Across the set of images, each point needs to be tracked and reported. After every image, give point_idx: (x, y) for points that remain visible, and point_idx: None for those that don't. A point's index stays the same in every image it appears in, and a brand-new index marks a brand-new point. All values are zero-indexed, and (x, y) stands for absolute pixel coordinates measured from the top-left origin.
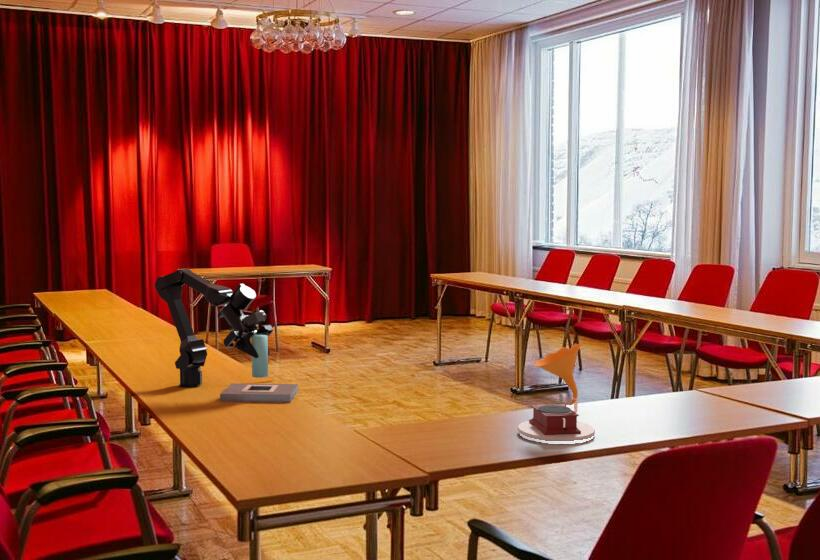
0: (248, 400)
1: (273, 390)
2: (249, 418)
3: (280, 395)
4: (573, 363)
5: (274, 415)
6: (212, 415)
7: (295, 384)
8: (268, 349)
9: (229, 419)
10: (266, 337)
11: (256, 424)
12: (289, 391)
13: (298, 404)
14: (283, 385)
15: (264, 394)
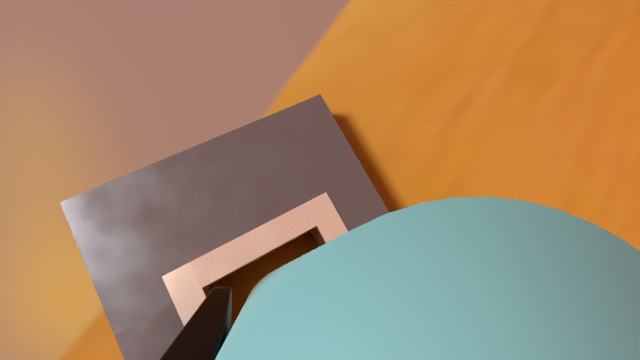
0: None
1: (301, 206)
2: (568, 102)
3: (341, 135)
4: None
5: (493, 56)
6: (630, 237)
7: (78, 210)
8: (184, 331)
9: (617, 149)
10: (428, 207)
11: (593, 46)
12: (266, 132)
13: (323, 68)
14: (140, 255)
15: (382, 200)
